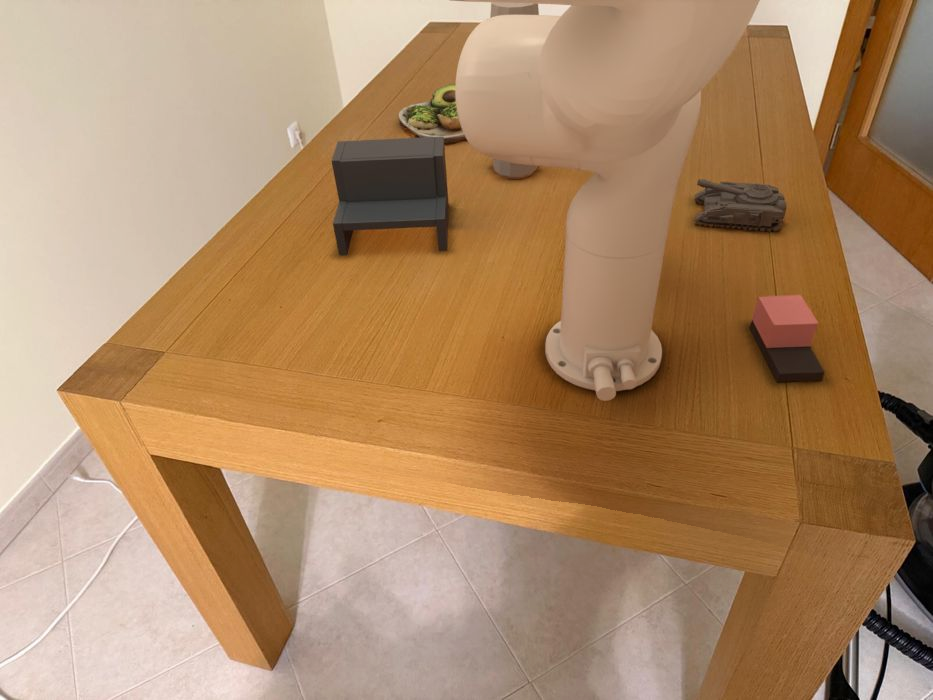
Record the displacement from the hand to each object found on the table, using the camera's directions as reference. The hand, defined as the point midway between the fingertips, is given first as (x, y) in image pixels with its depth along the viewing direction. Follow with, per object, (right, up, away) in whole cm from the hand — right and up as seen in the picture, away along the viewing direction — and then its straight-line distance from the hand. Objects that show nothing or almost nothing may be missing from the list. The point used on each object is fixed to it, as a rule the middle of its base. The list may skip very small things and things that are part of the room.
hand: (654, 4), depth 68 cm
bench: (-29, -18, +29) cm, 44 cm away
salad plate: (-22, +7, +57) cm, 61 cm away
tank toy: (+19, -16, +28) cm, 37 cm away
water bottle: (-12, -6, +41) cm, 43 cm away
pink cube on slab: (+16, -35, +6) cm, 39 cm away
